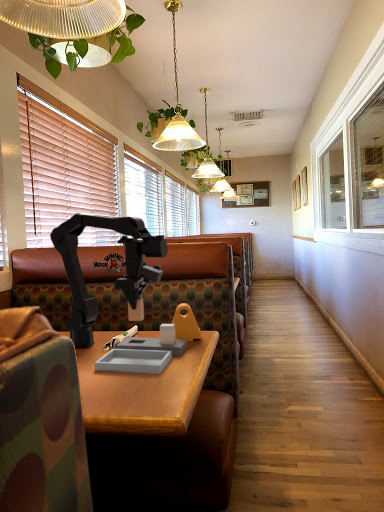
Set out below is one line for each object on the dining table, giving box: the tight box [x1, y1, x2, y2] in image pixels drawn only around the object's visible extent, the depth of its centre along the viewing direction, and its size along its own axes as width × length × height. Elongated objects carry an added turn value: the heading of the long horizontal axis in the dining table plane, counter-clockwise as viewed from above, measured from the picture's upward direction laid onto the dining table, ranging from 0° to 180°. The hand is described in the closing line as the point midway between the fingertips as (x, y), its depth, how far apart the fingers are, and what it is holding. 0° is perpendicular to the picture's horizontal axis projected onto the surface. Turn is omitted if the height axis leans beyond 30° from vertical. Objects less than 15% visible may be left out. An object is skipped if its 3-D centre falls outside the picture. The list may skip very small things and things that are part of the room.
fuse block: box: [115, 336, 188, 357], centre depth 115 cm, size 20×9×2 cm, turn 79°
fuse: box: [159, 323, 175, 345], centre depth 114 cm, size 4×3×8 cm
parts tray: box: [94, 348, 173, 375], centre depth 102 cm, size 18×12×2 cm, turn 79°
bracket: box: [171, 302, 202, 342], centre depth 127 cm, size 11×7×12 cm, turn 92°
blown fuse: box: [127, 292, 145, 322], centre depth 115 cm, size 4×3×8 cm
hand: (135, 308), depth 115 cm, fingers closed on blown fuse, 3 cm apart
